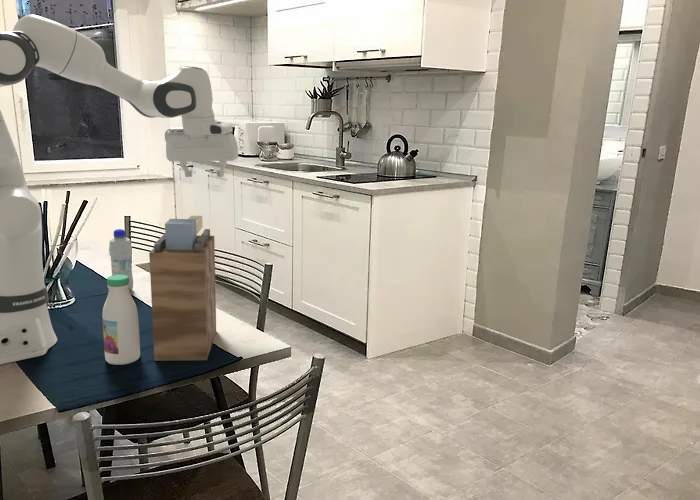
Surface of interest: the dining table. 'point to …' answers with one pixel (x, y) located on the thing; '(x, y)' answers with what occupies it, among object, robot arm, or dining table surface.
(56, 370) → the dining table surface
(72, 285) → the dining table surface
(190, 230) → the block with handle
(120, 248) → the bottle
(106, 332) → the milk bottle
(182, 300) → the walnut stand
